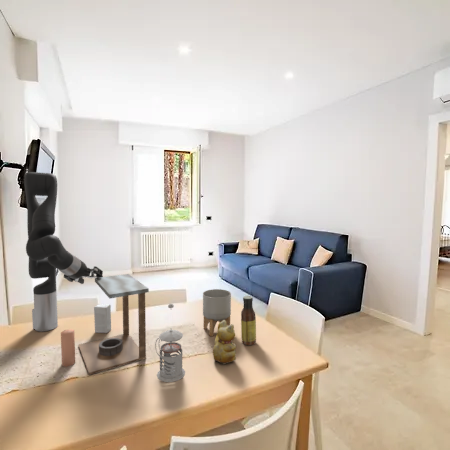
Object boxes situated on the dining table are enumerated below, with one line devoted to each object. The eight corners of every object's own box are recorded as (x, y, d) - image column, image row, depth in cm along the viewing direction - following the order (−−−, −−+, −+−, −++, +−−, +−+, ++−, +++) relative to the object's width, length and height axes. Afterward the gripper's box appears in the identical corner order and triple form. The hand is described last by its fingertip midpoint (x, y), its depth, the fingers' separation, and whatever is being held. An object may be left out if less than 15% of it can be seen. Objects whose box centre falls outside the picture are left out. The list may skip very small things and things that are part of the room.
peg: (59, 366, 108) (58, 334, 107) (66, 359, 112) (65, 329, 111) (70, 367, 107) (69, 334, 106) (77, 360, 111) (76, 329, 111)
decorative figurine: (240, 361, 112) (240, 323, 111) (224, 370, 106) (225, 329, 105) (222, 352, 119) (222, 316, 117) (206, 360, 113) (206, 321, 111)
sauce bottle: (257, 340, 129) (258, 295, 127) (254, 347, 123) (254, 300, 122) (242, 338, 131) (243, 294, 130) (238, 344, 125) (239, 298, 124)
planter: (197, 333, 135) (198, 295, 134) (209, 323, 147) (210, 287, 146) (224, 339, 130) (224, 299, 129) (234, 327, 142) (234, 291, 141)
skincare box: (111, 329, 139) (111, 304, 138) (107, 333, 135) (106, 307, 134) (99, 328, 139) (98, 303, 138) (94, 332, 135) (93, 306, 134)
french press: (172, 385, 97) (171, 311, 95) (147, 374, 103) (146, 304, 101) (191, 371, 105) (191, 302, 103) (166, 361, 111) (166, 296, 109)
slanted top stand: (89, 376, 102) (87, 298, 99) (78, 345, 123) (76, 280, 121) (149, 358, 113) (148, 288, 111) (129, 333, 135) (128, 274, 133)
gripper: (90, 254, 118) (108, 269, 132) (55, 260, 118) (77, 274, 132) (87, 272, 114) (107, 286, 128) (52, 277, 114) (75, 291, 128)
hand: (92, 280), depth 130 cm, fingers open, 8 cm apart
